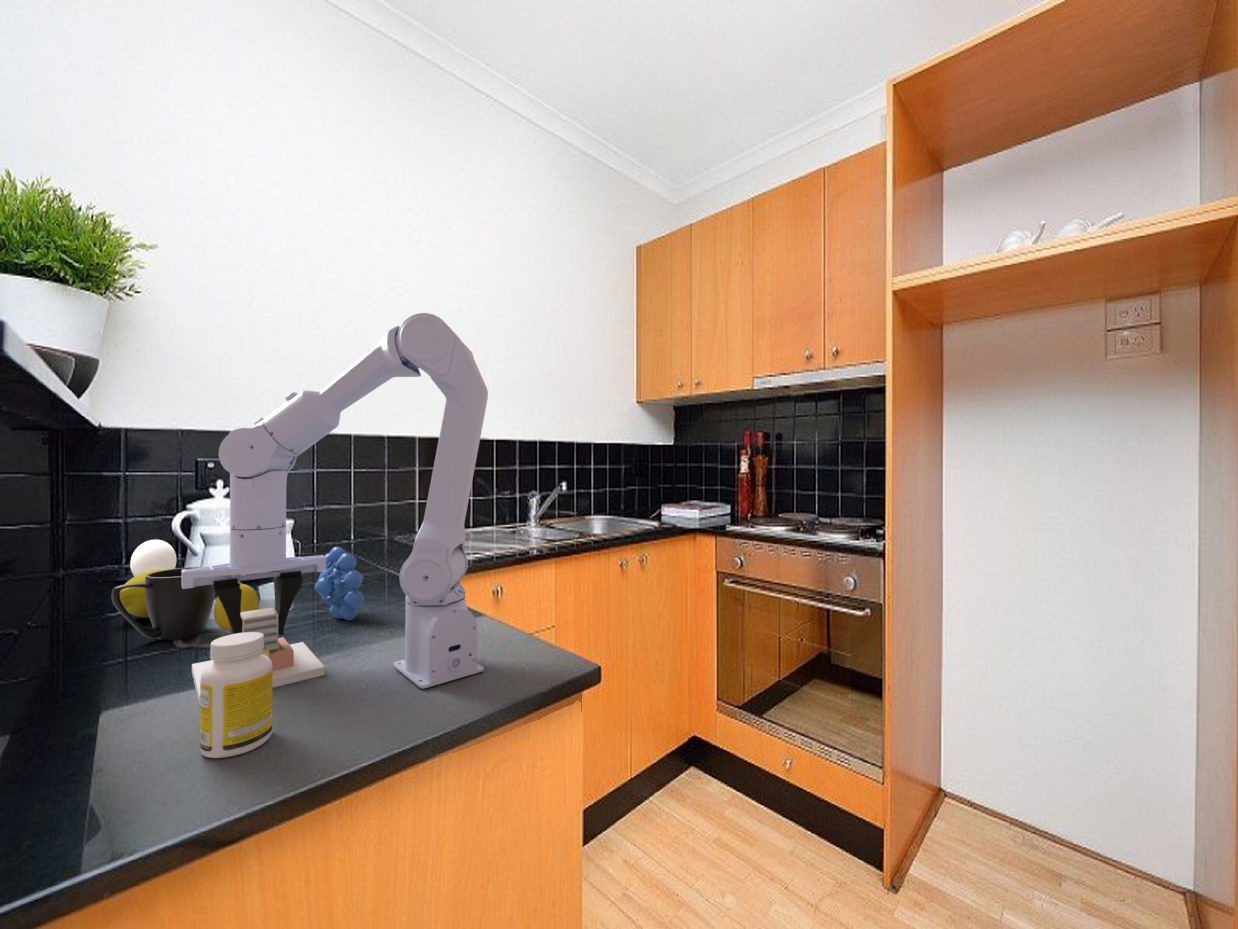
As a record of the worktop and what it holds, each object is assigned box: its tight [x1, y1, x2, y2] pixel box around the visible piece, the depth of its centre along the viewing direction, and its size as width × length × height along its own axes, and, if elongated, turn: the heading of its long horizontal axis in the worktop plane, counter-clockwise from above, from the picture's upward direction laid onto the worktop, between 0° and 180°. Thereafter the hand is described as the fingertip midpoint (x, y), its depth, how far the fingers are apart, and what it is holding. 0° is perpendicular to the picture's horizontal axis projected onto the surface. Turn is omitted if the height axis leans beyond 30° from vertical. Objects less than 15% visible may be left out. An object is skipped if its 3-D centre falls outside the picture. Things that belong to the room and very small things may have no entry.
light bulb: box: [129, 539, 177, 577], centre depth 101 cm, size 7×7×11 cm
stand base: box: [191, 636, 326, 705], centre depth 64 cm, size 12×12×4 cm
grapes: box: [313, 546, 365, 621], centre depth 86 cm, size 12×7×12 cm, turn 55°
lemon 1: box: [120, 569, 169, 619], centre depth 87 cm, size 11×8×8 cm
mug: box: [110, 566, 216, 641], centre depth 77 cm, size 8×12×10 cm
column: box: [240, 607, 279, 653], centre depth 64 cm, size 4×4×6 cm
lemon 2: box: [213, 581, 260, 632], centre depth 78 cm, size 6×6×8 cm
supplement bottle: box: [199, 632, 274, 759], centre depth 48 cm, size 5×5×10 cm
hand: (258, 637), depth 64 cm, fingers closed on column, 4 cm apart
